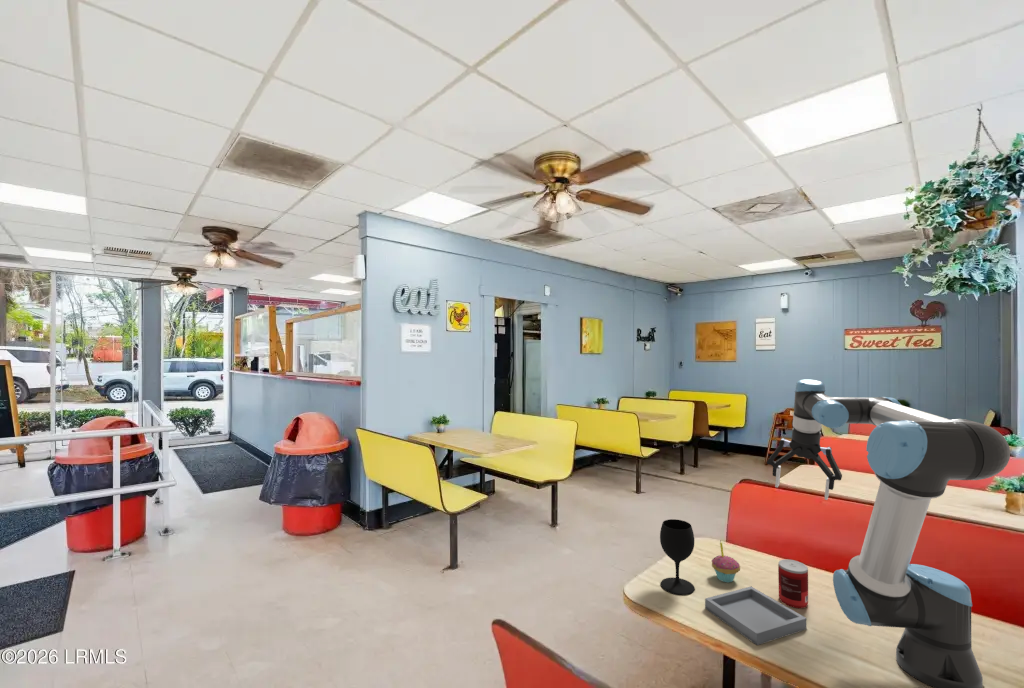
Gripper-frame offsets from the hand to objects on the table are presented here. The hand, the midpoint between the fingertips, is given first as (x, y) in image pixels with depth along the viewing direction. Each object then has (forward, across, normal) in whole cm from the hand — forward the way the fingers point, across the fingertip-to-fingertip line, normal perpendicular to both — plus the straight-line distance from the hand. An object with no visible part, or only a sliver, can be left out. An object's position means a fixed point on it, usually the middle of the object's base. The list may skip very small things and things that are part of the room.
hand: (801, 491), depth 151 cm
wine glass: (+28, +28, +31) cm, 50 cm away
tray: (+25, +5, +34) cm, 43 cm away
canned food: (+27, -2, +18) cm, 33 cm away
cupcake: (+29, +17, +16) cm, 38 cm away
